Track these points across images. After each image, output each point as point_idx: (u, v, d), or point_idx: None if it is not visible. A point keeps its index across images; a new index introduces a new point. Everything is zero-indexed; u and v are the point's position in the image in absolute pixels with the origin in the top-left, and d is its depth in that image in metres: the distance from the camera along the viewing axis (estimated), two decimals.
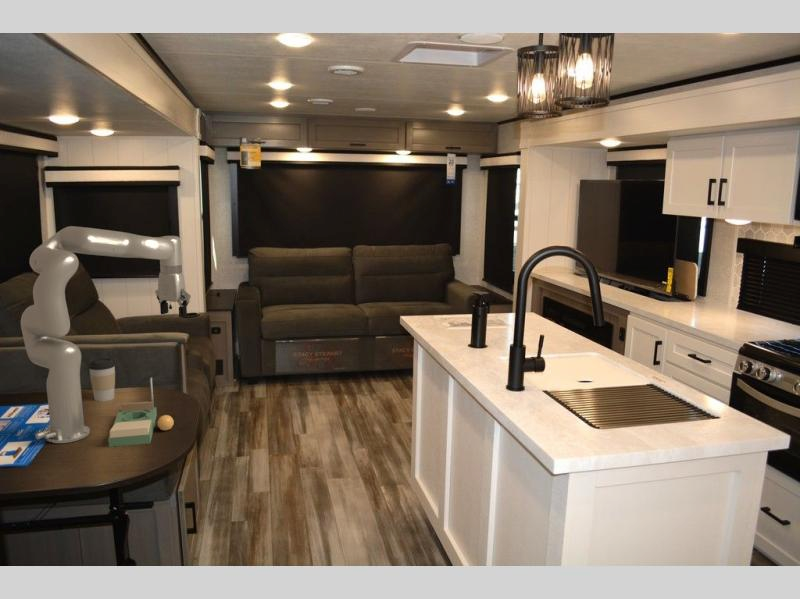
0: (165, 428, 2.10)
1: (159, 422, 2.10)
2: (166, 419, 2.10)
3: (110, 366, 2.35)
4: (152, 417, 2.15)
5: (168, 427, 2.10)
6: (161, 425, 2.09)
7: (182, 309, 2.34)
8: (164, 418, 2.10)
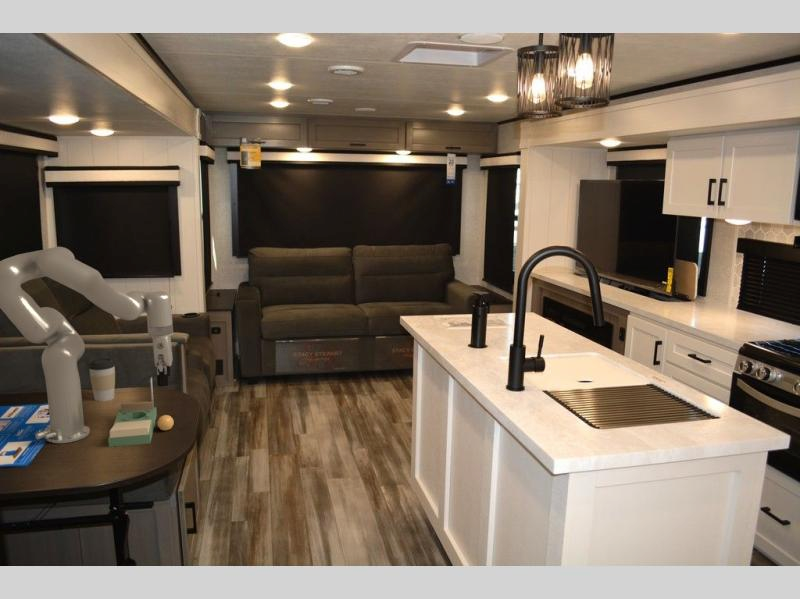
0: (165, 428, 2.10)
1: (159, 422, 2.10)
2: (166, 419, 2.10)
3: (110, 366, 2.35)
4: (152, 417, 2.15)
5: (168, 427, 2.10)
6: (161, 425, 2.09)
7: None
8: (164, 418, 2.10)
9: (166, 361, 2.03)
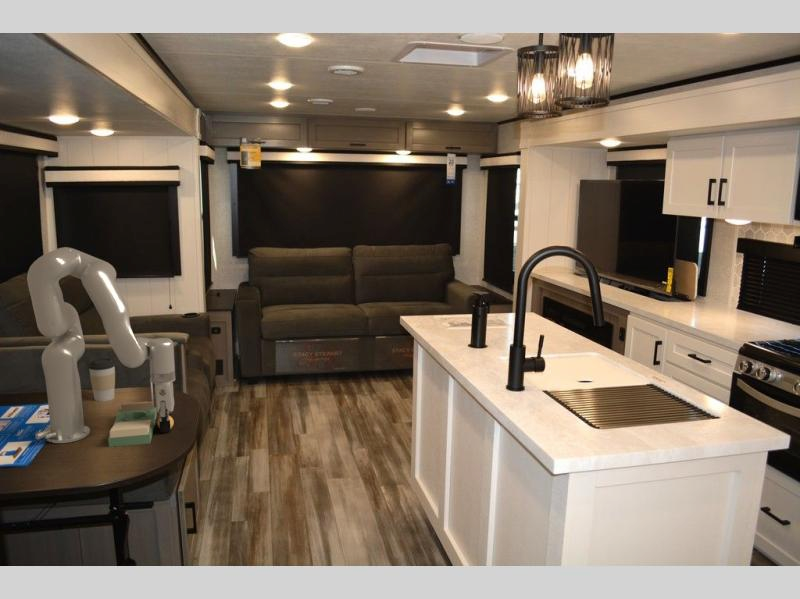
0: None
1: None
2: None
3: (110, 366, 2.35)
4: (152, 417, 2.15)
5: None
6: None
7: None
8: None
9: (168, 407, 2.06)
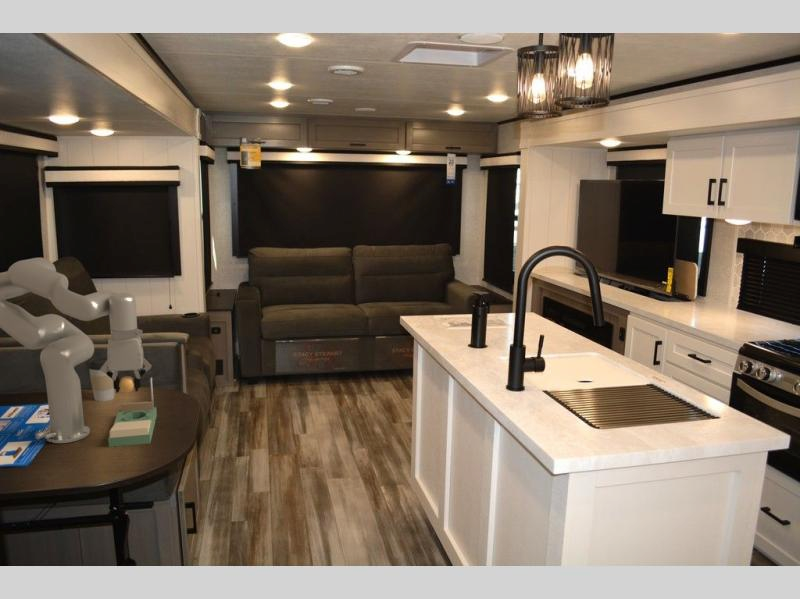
0: (134, 387, 2.00)
1: (131, 383, 1.98)
2: None
3: None
4: (152, 417, 2.15)
5: None
6: (134, 385, 1.99)
7: None
8: (131, 377, 1.99)
9: None
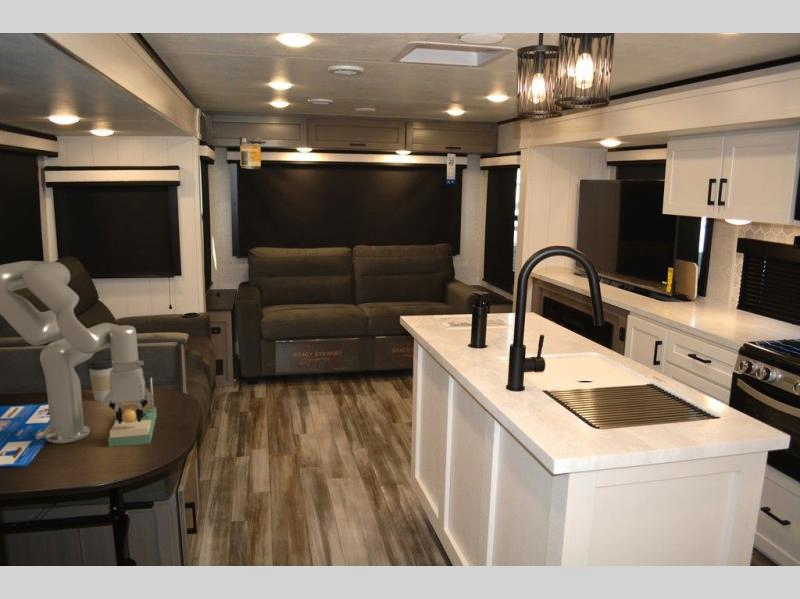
0: None
1: (134, 414, 1.99)
2: (134, 408, 2.01)
3: (110, 366, 2.35)
4: (152, 417, 2.15)
5: None
6: None
7: None
8: (134, 408, 2.01)
9: None
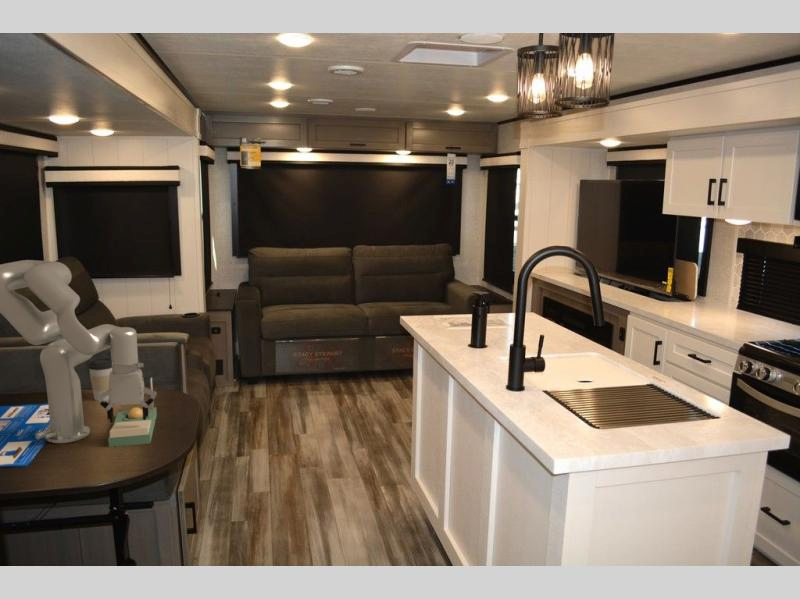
0: None
1: (139, 412, 2.16)
2: None
3: (110, 366, 2.35)
4: (152, 417, 2.15)
5: None
6: (142, 414, 2.16)
7: None
8: None
9: (144, 392, 2.02)
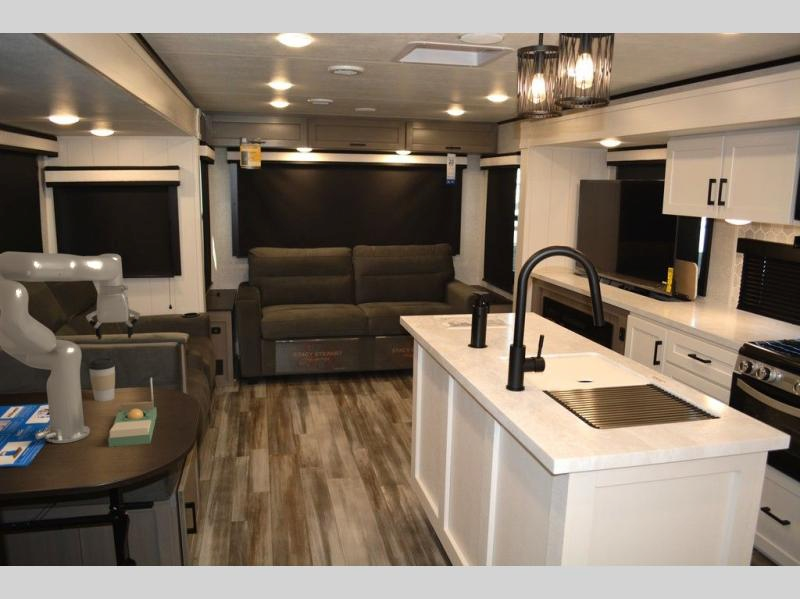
0: None
1: (139, 416, 2.14)
2: (140, 410, 2.16)
3: (110, 366, 2.35)
4: (152, 417, 2.15)
5: None
6: None
7: None
8: (139, 410, 2.15)
9: (129, 313, 2.25)
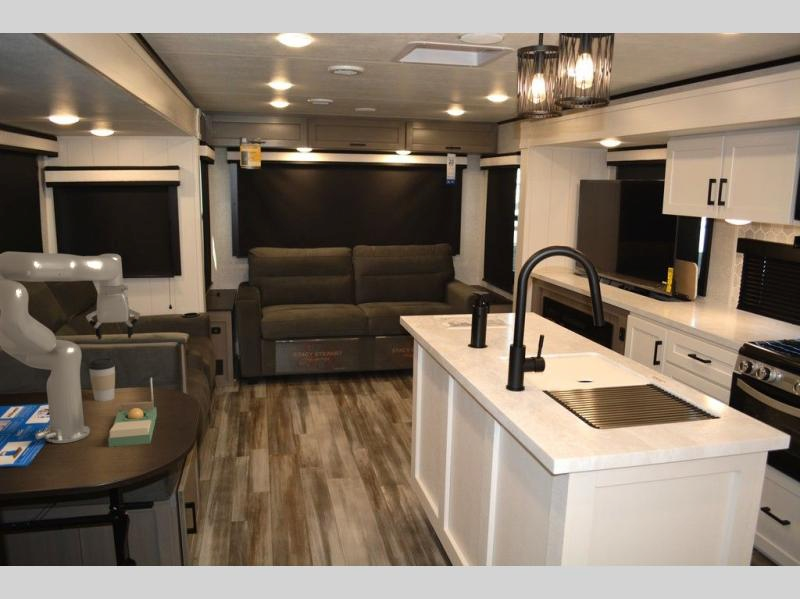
0: None
1: (139, 414, 2.15)
2: (140, 409, 2.17)
3: (110, 366, 2.35)
4: (152, 417, 2.15)
5: None
6: (142, 415, 2.16)
7: None
8: (140, 409, 2.16)
9: (129, 313, 2.25)
